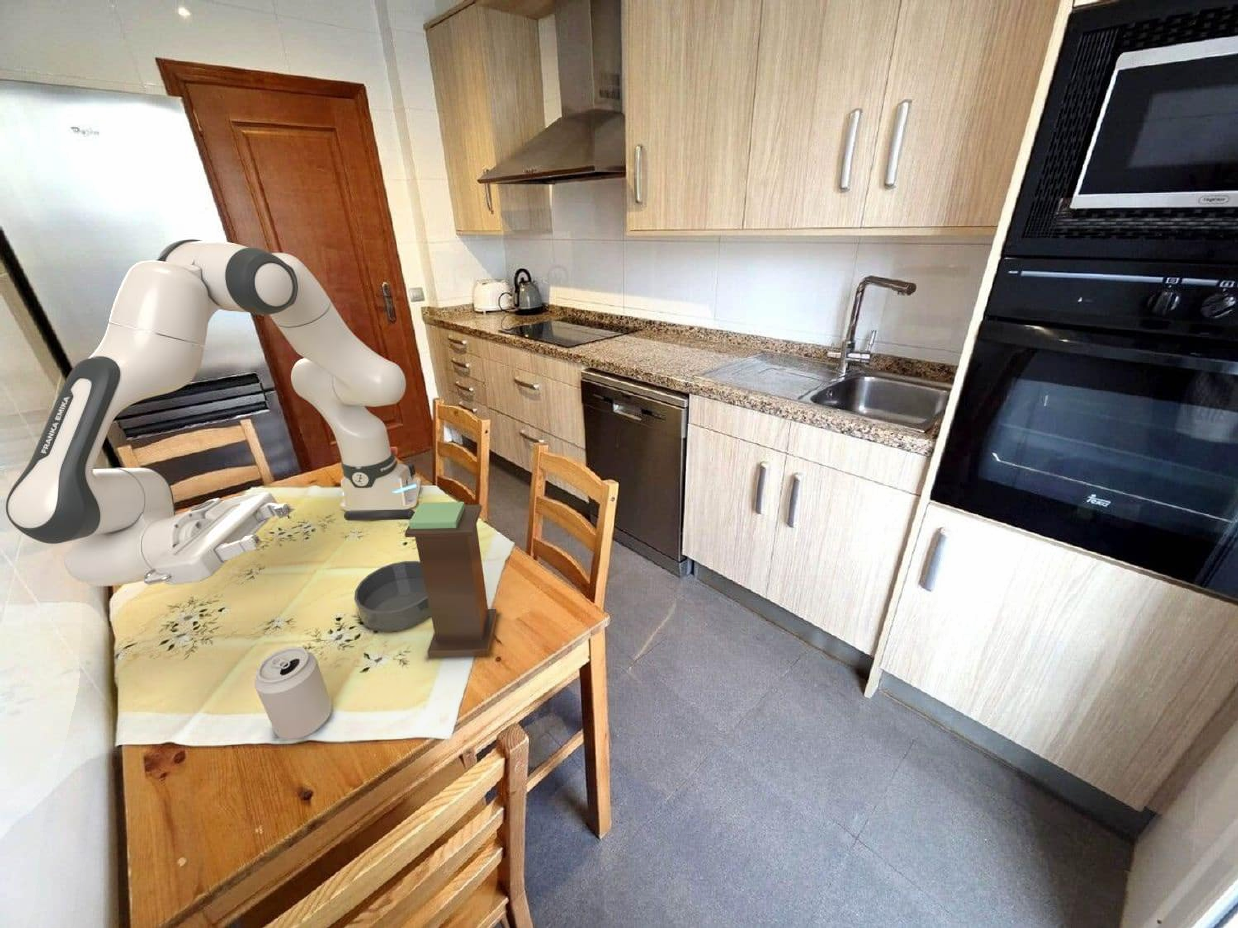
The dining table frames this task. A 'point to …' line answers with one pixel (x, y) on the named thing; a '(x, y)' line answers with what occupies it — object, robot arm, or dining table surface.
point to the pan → (393, 597)
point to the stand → (456, 588)
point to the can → (293, 692)
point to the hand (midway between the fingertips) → (273, 524)
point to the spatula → (416, 515)
